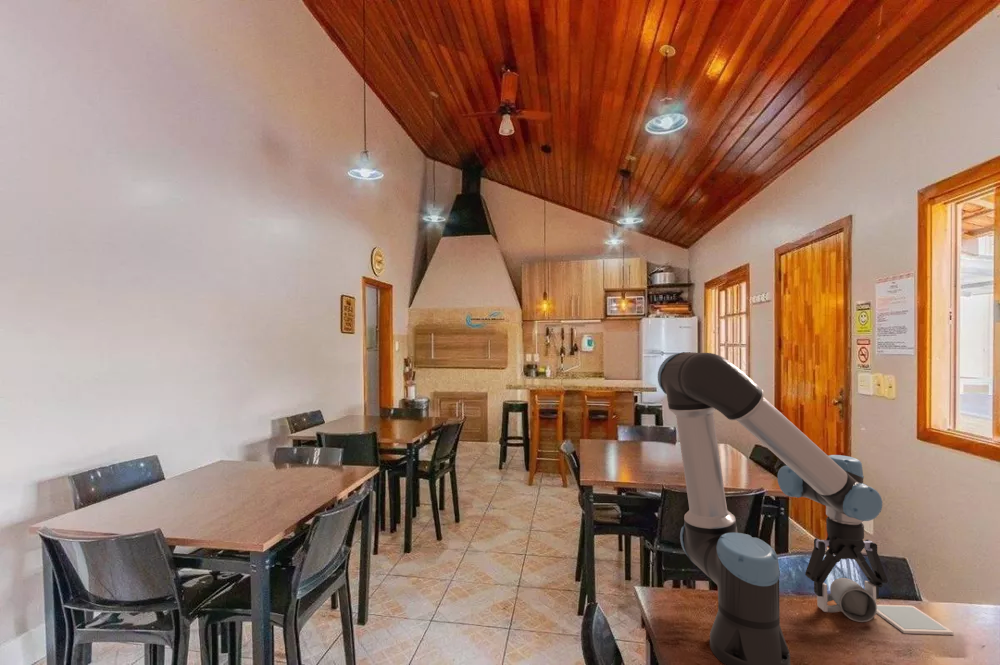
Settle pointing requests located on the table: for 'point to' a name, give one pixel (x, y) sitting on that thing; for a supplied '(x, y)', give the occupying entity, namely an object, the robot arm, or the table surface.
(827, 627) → the table surface
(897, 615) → the plate
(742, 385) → the robot arm
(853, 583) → the ceramic mug
